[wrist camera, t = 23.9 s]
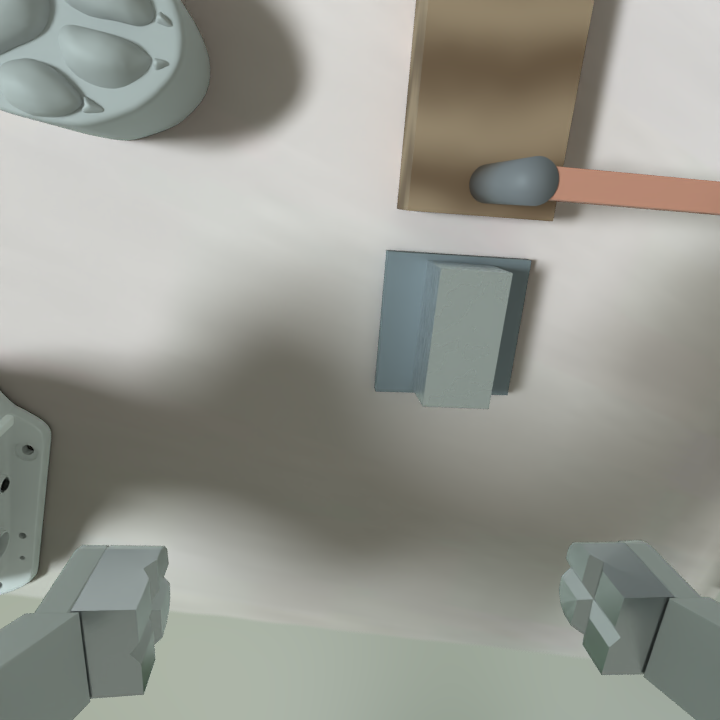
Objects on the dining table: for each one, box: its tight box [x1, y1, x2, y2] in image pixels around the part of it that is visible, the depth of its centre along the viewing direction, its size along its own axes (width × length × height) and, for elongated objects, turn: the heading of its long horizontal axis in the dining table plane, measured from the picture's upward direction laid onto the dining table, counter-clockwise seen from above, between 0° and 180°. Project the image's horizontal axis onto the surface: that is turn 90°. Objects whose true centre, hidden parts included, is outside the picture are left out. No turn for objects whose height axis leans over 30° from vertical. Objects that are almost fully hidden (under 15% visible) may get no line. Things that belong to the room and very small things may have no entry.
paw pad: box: [0, 0, 210, 140], centre depth 27 cm, size 10×13×9 cm
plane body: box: [397, 0, 594, 221], centre depth 32 cm, size 17×10×4 cm, turn 176°
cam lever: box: [469, 156, 720, 215], centre depth 29 cm, size 15×2×7 cm, turn 86°
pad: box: [374, 250, 531, 395], centre depth 39 cm, size 11×11×1 cm
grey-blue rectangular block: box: [411, 260, 513, 409], centre depth 37 cm, size 10×5×4 cm, turn 175°
